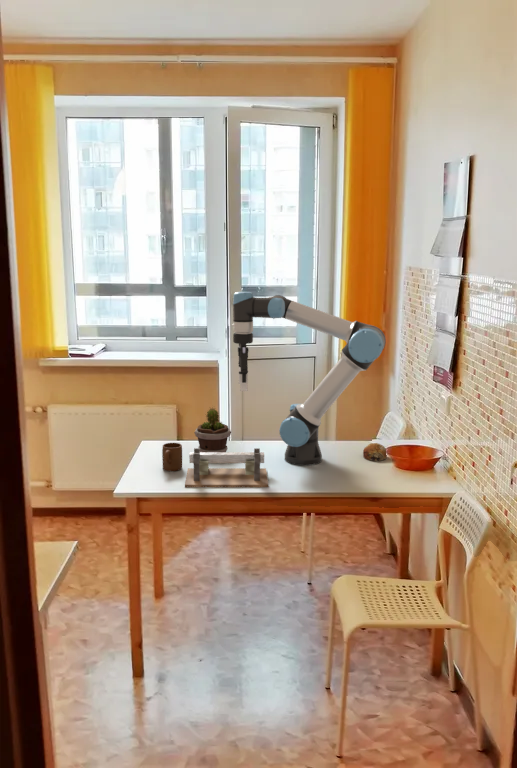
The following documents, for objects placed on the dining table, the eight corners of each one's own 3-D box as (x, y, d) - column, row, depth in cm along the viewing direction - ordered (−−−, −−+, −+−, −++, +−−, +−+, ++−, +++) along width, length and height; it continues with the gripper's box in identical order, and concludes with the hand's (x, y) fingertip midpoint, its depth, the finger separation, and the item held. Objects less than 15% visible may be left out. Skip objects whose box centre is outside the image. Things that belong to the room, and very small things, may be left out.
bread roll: (388, 466, 275) (392, 447, 276) (380, 461, 266) (384, 442, 268) (366, 462, 280) (370, 443, 281) (357, 457, 271) (361, 438, 273)
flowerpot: (230, 459, 269) (230, 411, 265) (192, 458, 269) (192, 411, 265) (232, 449, 283) (232, 403, 279) (196, 448, 283) (196, 402, 279)
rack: (265, 470, 255) (266, 440, 253) (268, 487, 238) (269, 455, 235) (187, 470, 254) (187, 440, 252) (184, 487, 236) (184, 455, 234)
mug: (175, 476, 248) (175, 452, 246) (156, 474, 249) (155, 450, 247) (184, 466, 260) (184, 443, 258) (166, 464, 261) (165, 441, 259)
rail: (263, 460, 252) (263, 452, 251) (264, 463, 249) (264, 454, 248) (190, 460, 251) (189, 452, 250) (189, 463, 248) (189, 454, 247)
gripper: (232, 328, 265) (232, 381, 269) (234, 336, 240) (234, 393, 244) (250, 328, 265) (250, 380, 269) (255, 336, 241) (254, 393, 245)
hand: (243, 387), depth 257 cm, fingers open, 13 cm apart
